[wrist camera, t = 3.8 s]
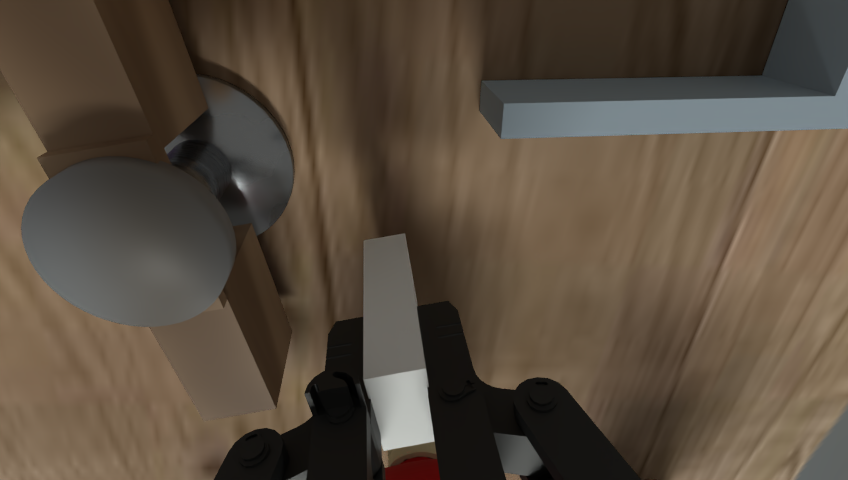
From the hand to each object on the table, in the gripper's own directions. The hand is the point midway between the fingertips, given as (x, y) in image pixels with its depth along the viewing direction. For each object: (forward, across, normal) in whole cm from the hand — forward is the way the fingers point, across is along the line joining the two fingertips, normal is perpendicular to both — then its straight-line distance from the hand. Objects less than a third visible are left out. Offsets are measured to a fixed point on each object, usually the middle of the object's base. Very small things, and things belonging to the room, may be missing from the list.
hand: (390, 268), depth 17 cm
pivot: (+1, -6, +5) cm, 7 cm away
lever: (0, -6, +6) cm, 8 cm away
